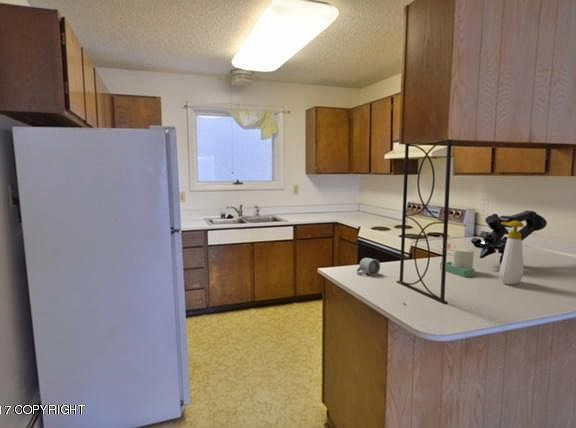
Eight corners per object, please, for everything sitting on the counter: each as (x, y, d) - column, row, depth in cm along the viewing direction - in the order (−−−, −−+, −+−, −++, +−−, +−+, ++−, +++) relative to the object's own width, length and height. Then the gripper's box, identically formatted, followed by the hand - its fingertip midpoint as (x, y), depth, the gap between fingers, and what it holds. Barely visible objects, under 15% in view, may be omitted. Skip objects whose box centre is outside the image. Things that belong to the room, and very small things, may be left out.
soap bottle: (503, 277, 171) (509, 218, 168) (527, 283, 163) (533, 220, 159) (489, 281, 165) (494, 219, 161) (513, 288, 156) (518, 222, 152)
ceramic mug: (369, 269, 183) (369, 255, 182) (380, 274, 175) (380, 259, 174) (352, 272, 178) (353, 257, 177) (363, 277, 171) (363, 261, 170)
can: (472, 275, 175) (473, 251, 173) (451, 272, 179) (453, 249, 178) (473, 270, 183) (474, 248, 181) (453, 268, 187) (454, 246, 186)
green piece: (449, 268, 187) (451, 241, 186) (473, 275, 174) (475, 246, 172) (439, 269, 185) (441, 242, 183) (463, 277, 171) (465, 247, 170)
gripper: (474, 223, 193) (458, 244, 191) (506, 228, 176) (489, 252, 173) (483, 236, 197) (468, 257, 195) (516, 242, 180) (499, 265, 177)
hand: (480, 257), depth 185 cm, fingers closed
